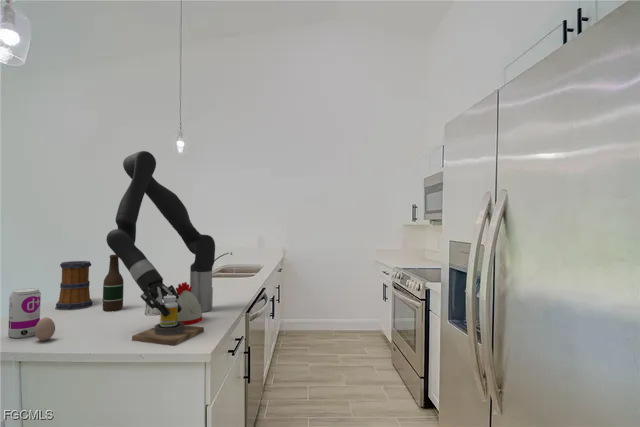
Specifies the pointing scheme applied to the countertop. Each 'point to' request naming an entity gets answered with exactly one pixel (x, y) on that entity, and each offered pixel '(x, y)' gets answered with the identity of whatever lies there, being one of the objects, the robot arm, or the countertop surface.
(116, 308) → the beer bottle
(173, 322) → the supplement bottle
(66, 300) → the mug
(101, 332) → the countertop surface
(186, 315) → the kitchen timer
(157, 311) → the beer glass
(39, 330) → the egg
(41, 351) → the countertop surface
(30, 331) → the supplement can
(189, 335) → the socket board
